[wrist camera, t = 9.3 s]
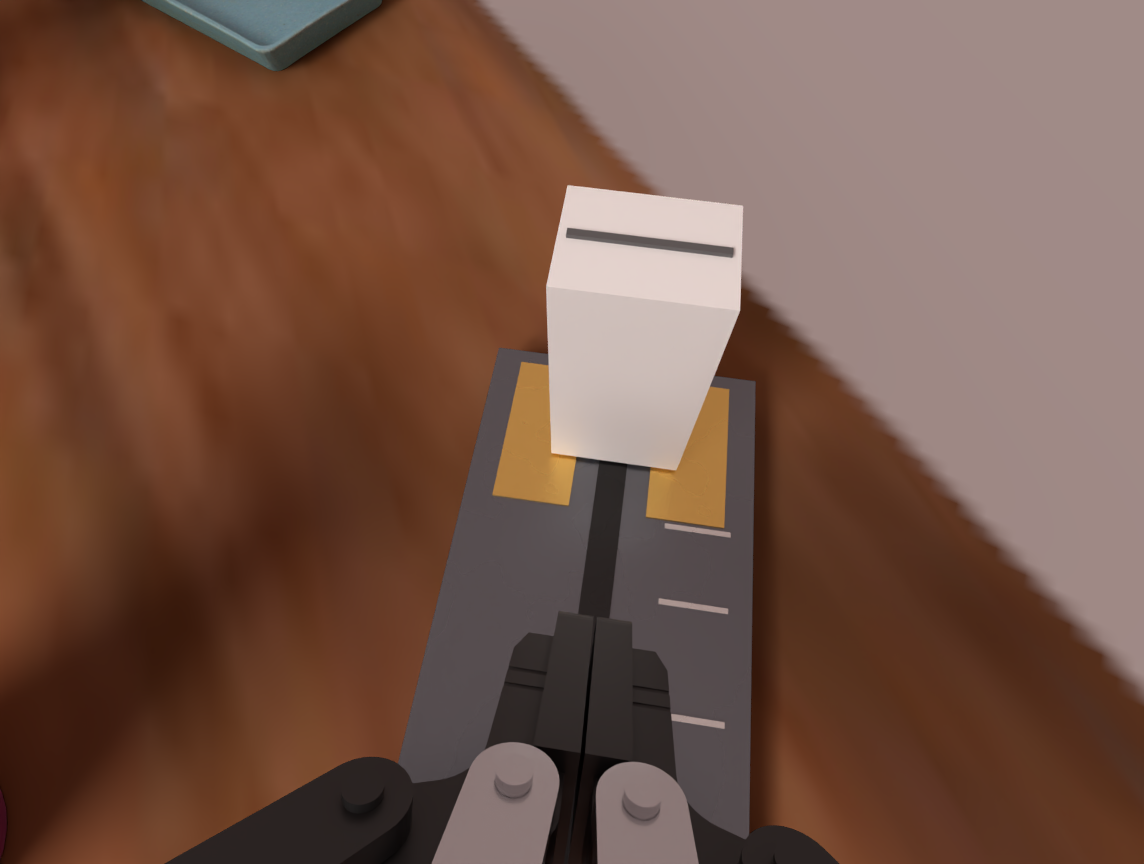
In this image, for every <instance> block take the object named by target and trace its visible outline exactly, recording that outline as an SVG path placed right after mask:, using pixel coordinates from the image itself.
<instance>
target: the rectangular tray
mask: <svg viewBox="0 0 1144 864" xmlns="http://www.w3.org/2000/svg"><path fill="white" fill-rule="evenodd" d="M141 1H143V2H145V3H147V4H149V5H151V6H153V7H155V8H156V9H158V10H160V11H162V12H164V13H166V14H168V15H169V16H171V17H173V18H175V19H177V20H179V21H181V22H183V23H185V24H186V25H188V26H190V27H192V28H194V29H196V30H198V31H200V32H201V33H203V34H205V35H207V36H209V37H211V38H213V39H214V40H216V41H218V42H220V43H222V44H224V45H226V46H227V47H229V48H231V49H233V50H235V51H237V52H238V53H240V54H242V55H244V56H246V57H248V58H250V59H252V60H253V61H255V62H257V63H259V64H261V65H262V66H264V67H266V68H268V69H270V70H273V71H280V70H283V69H285V68H287V67H288V66H290V65H291V64H292V63H294V62H295V61H297V60H298V59H300V58H301V57H303V56H304V55H306V54H307V53H309V52H310V51H312V50H313V49H315V48H316V47H318V46H319V45H321V44H322V43H324V42H325V41H327V40H328V39H330V38H331V37H333V36H334V35H336V34H337V33H339V32H340V31H342V30H343V29H345V28H347V27H348V26H350V25H351V24H353V23H354V22H356V21H357V20H359V19H360V18H362V17H363V16H365V15H366V14H368V13H370V12H371V11H373V10H374V9H376V8H377V7H379V6H380V5H381V3H382V0H141Z"/></svg>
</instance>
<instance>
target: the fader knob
mask: <svg viewBox="0 0 1144 864" xmlns="http://www.w3.org/2000/svg"><path fill="white" fill-rule="evenodd" d="M742 230H743V206H741V205H733V204H724V203H715V202H706V201H698V200H689V199H681V198H672V197H664V196H655V195H647V194H638V193H629V192H621V191H612V190H604V189H595V188H587V187H578V186H569V185H568V186H567V191H566V196H565V201H564V205H563V210H562V215H561V219H560V224H559V229H558V234H557V238H556V243H555V248H554V252H553V257H552V262H551V266H550V271H549V276H548V281H547V285H546V295H547V327H548V359H549V391H550V423H551V453H554V454H562V455H569V456H576V457H583V458H590V459H597V460H605V461H612V462H619V463H626V464H633V465H640V466H648V467H655V468H662V469H669V470H677V468H678V465H679V463H680V460H681V458H682V455H683V453H684V450H685V448H686V445H687V443H688V440H689V438H690V435H691V433H692V430H693V428H694V425H695V423H696V420H697V418H698V415H699V413H700V410H701V408H702V405H703V403H704V400H705V397H706V395H707V392H708V390H709V387H710V385H711V382H712V380H713V377H714V375H715V372H716V370H717V367H718V365H719V362H720V360H721V357H722V355H723V352H724V350H725V347H726V345H727V342H728V340H729V337H730V335H731V332H732V330H733V327H734V325H735V322H736V320H737V317H738V315H739V312H740V298H741V264H742Z"/></svg>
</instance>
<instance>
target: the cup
mask: <svg viewBox="0 0 1144 864" xmlns="http://www.w3.org/2000/svg"><path fill="white" fill-rule="evenodd" d="M6 831H7V818H6V806H5V802H4V798H3V794H2V791H1V790H0V859H1V856H2V853H3V849H4V843H5V837H6Z"/></svg>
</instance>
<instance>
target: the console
mask: <svg viewBox="0 0 1144 864" xmlns="http://www.w3.org/2000/svg"><path fill="white" fill-rule="evenodd" d="M755 384H756V381H749V380H741V379H734V378H726V377H719V376H714V377H713V380H712V382H711V385H710V387H709V390H708V392H707V395H706V397H705V400H704V403H703V405H702V408H701V410H700V413H699V415H698V418H697V420H696V423H695V425H694V428H693V430H692V433H691V435H690V438H689V440H688V443H687V445H686V448H685V450H684V453H683V455H682V458H681V460H680V463H679V465H678V468H677V470H669V469H662V468H655V467H648V466H640V465H633V464H626V463H619V462H612V461H605V460H597V459H590V458H583V457H576V456H569V455H562V454H554V453H551V423H550V391H549V359H548V354H543V353H536V352H528V351H520V350H513V349H505V348H499V350H498V354H497V358H496V363H495V367H494V371H493V375H492V379H491V383H490V387H489V391H488V395H487V400H486V404H485V408H484V412H483V416H482V420H481V424H480V428H479V433H478V437H477V441H476V445H475V449H474V453H473V457H472V461H471V465H470V470H469V474H468V478H467V482H466V486H465V490H464V494H463V498H462V502H461V507H460V511H459V515H458V519H457V523H456V527H455V531H454V535H453V539H452V544H451V548H450V552H449V556H448V560H447V564H446V568H445V572H444V577H443V581H442V585H441V589H440V593H439V597H438V601H437V605H436V609H435V614H434V618H433V622H432V626H431V630H430V634H429V638H428V642H427V646H426V651H425V655H424V659H423V663H422V667H421V671H420V675H419V679H418V683H417V688H416V692H415V696H414V700H413V704H412V708H411V712H410V716H409V720H408V725H407V729H406V733H405V737H404V741H403V745H402V749H401V753H400V758H399V762H398V764H399V765H400V766H402V767H403V768H404V769H405V770H406V772H407V773H408V774H409V776H410V778H411V781H412V783H419V782H427V781H435V780H441V779H446V778H449V777H452V776H455V775H457V774H460V773H462V772H463V771H465V770H467V769H468V768H470V766H471V765H472V763H473V761H474V760H475V759H476V757H477V756H478V755H479V754H480V753H482V752H483V751H484V750H485V747H486V745H487V741H488V738H489V734H490V731H491V727H492V723H493V720H494V716H495V713H496V709H497V706H498V702H499V699H500V695H501V691H502V688H503V686H504V681H505V677H506V674H507V670H508V667H509V663H510V660H511V656H512V652H513V649H514V647H515V646H516V645H517V644H518V643H519V642H520V641H521V640H522V639H523V638H524V637H525V636H526V635H527V634H528V633H529V632H530V633H537V634H543V635H550V636H554V632H555V627H556V622H557V617H558V612H559V611H563V612H570V613H576V614H583V615H589V616H594V618H593V628H592V639H591V649H592V642H593V635H594V629H595V622H596V617H603V618H610V619H616V620H623V621H630V622H632V648H635V649H641V650H648V651H654V652H656V653H657V655H658V656H659V658H660V660H661V661H662V663H663V664H664V666H665V668H666V669H667V671H668V682H669V695H670V706H671V709H670V712H671V717H672V729H673V741H674V753H675V765H676V776H677V781H678V785H679V786H680V787H681V789H682V790H683V792H684V795H685V797H686V800H687V802H688V803H689V804H690V805H691V806H692V808H693V809H694V810H695V811H696V812H697V813H699V814H700V815H701V816H702V817H703V818H705V819H706V820H708V821H709V822H711V823H712V824H714V825H716V826H718V827H720V828H722V829H724V830H726V831H728V832H731V833H733V834H735V835H737V836H739V837H741V838H743V839H745V840H746V838H747V837H748V836H749V804H750V734H751V664H752V594H753V524H754V454H755ZM591 649H590V655H591ZM589 662H590V660H589ZM574 795H575V792H574ZM573 805H574V799H573ZM573 805H572V812H571V819H570V825H569V832H568V838H567V845H566V851H565V858H564V864H568V855H569V845H570V835H571V825H572V815H573Z"/></svg>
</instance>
